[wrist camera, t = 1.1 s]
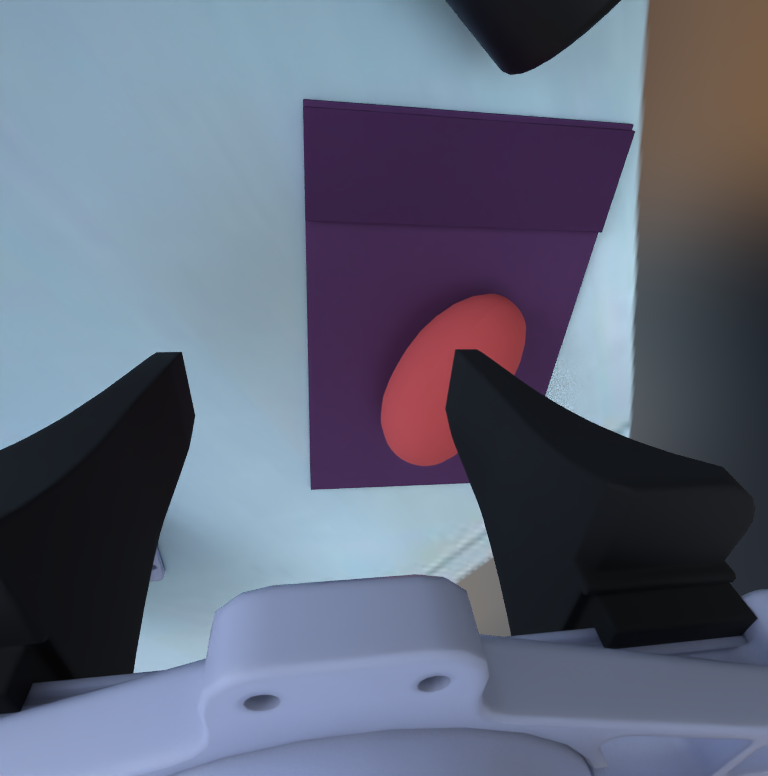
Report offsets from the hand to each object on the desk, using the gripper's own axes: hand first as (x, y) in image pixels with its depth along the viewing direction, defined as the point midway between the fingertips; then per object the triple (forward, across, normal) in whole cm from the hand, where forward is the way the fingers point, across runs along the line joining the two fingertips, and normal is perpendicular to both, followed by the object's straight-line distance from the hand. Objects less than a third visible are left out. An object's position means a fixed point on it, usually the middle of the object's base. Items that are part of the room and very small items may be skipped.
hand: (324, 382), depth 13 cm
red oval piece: (+10, -6, +5) cm, 12 cm away
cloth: (+10, -6, +4) cm, 12 cm away
